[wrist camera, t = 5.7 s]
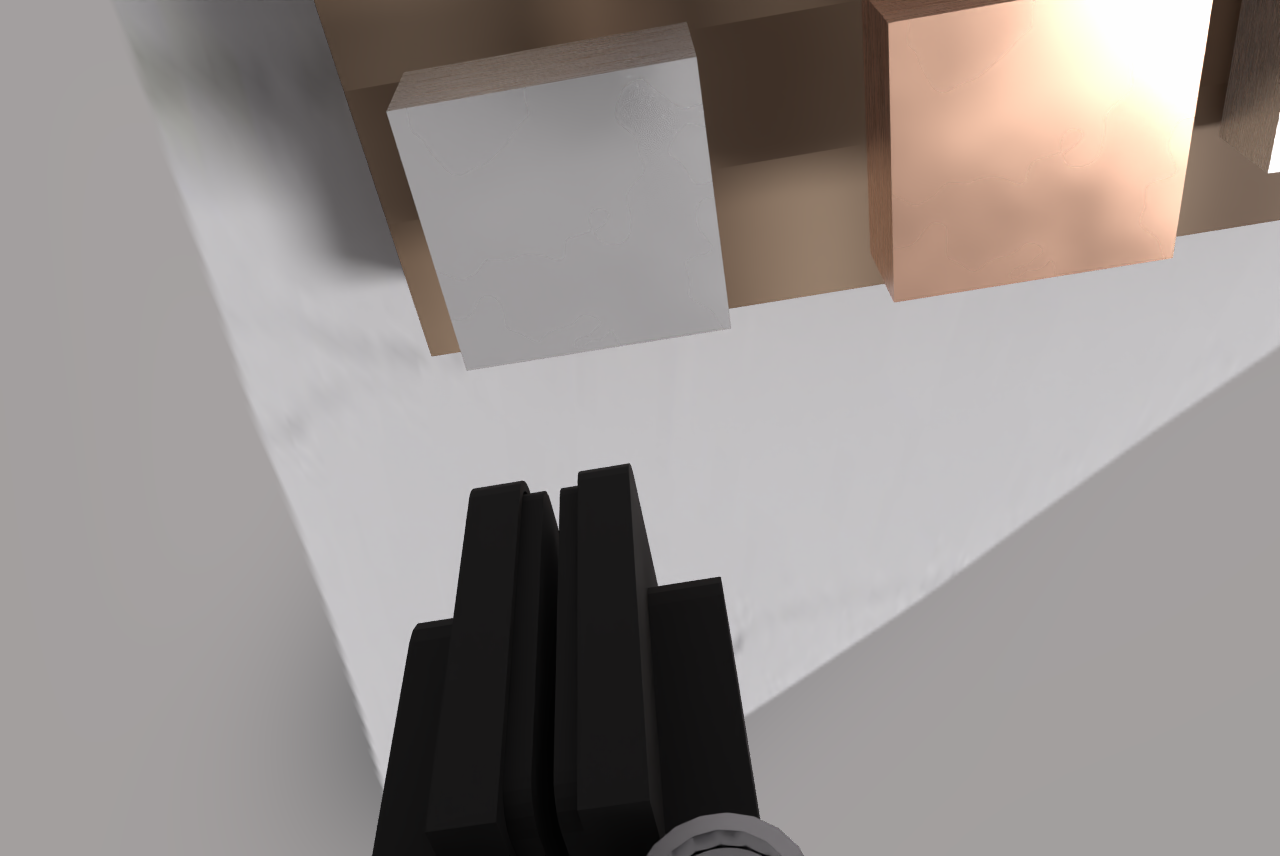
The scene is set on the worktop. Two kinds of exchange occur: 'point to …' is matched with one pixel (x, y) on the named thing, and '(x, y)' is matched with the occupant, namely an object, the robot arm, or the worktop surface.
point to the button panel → (730, 126)
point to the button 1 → (566, 195)
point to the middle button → (1025, 136)
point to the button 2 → (1255, 86)
